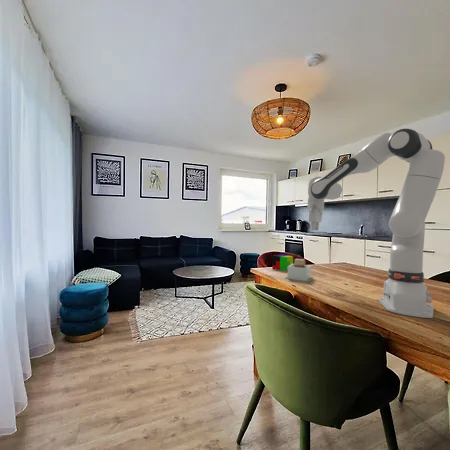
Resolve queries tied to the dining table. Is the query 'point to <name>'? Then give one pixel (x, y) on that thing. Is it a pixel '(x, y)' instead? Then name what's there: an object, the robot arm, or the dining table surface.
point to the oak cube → (299, 263)
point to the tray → (302, 280)
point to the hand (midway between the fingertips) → (315, 230)
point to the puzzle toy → (281, 262)
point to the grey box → (299, 272)
